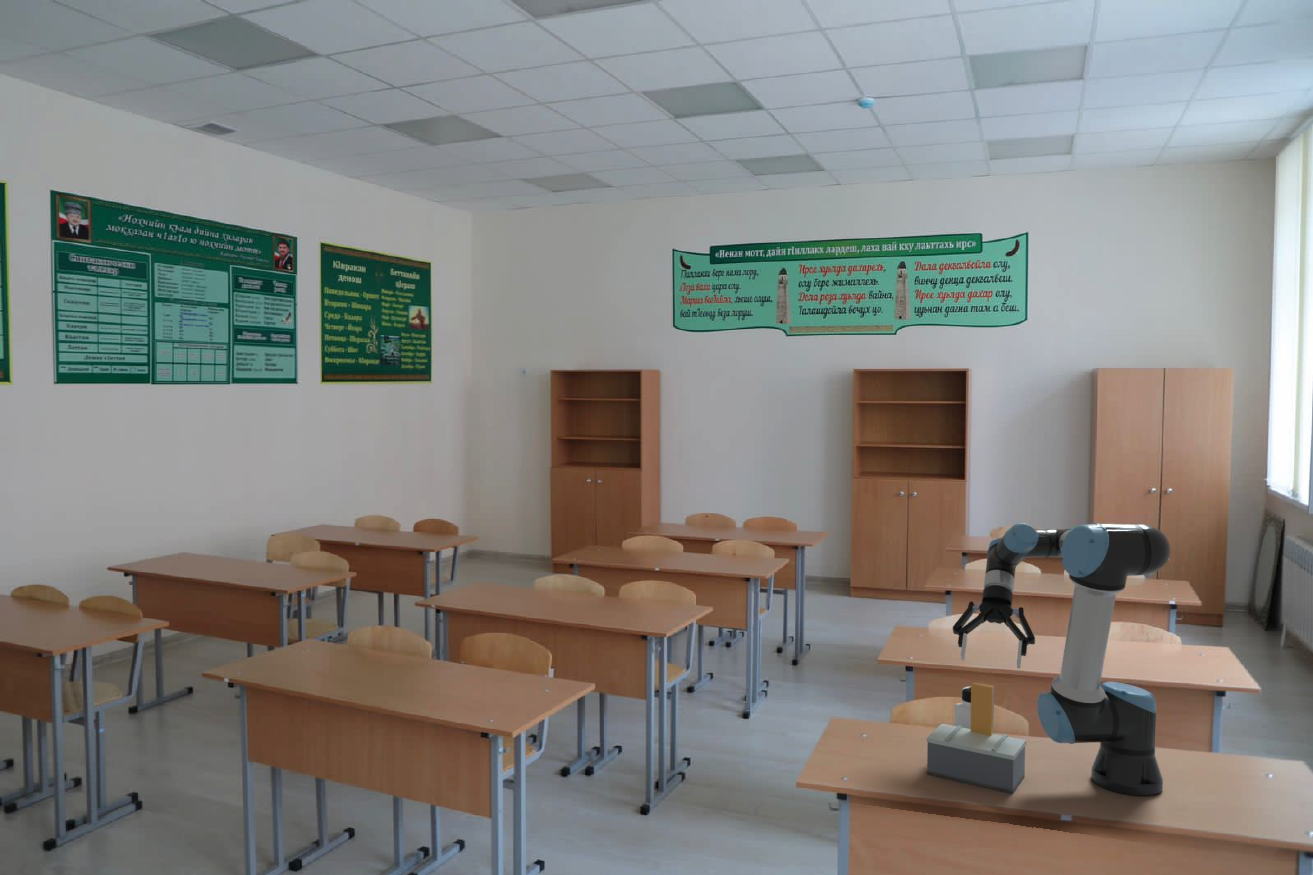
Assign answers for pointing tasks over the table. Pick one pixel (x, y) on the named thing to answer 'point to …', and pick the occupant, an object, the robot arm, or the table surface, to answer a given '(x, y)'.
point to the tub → (976, 767)
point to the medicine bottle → (964, 710)
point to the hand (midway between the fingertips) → (990, 662)
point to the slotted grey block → (979, 729)
